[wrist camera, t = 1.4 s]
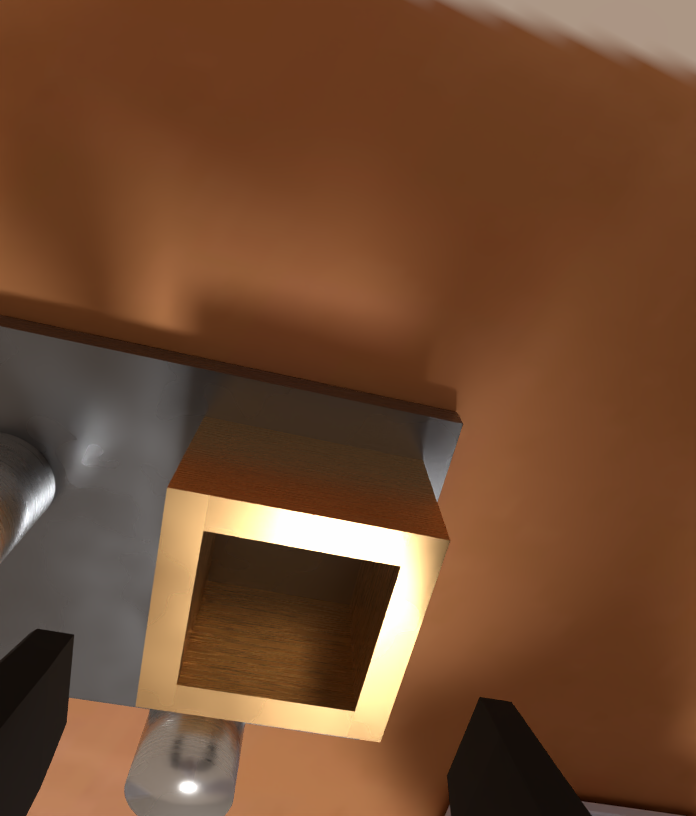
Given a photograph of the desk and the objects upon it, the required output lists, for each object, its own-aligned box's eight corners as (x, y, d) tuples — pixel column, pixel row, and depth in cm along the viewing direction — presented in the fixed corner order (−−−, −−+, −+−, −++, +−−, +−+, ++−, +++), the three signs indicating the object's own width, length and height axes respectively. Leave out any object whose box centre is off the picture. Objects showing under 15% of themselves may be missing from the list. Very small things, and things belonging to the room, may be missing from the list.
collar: (422, 460, 15) (449, 540, 12) (369, 631, 17) (380, 742, 14) (204, 416, 15) (167, 487, 11) (174, 599, 16) (135, 706, 13)
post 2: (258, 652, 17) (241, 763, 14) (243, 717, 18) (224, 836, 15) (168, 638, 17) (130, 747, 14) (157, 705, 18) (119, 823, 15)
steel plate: (456, 412, 16) (462, 423, 15) (357, 717, 19) (359, 739, 19) (-198, 272, 14) (-228, 277, 13) (-166, 639, 18) (-188, 660, 17)
